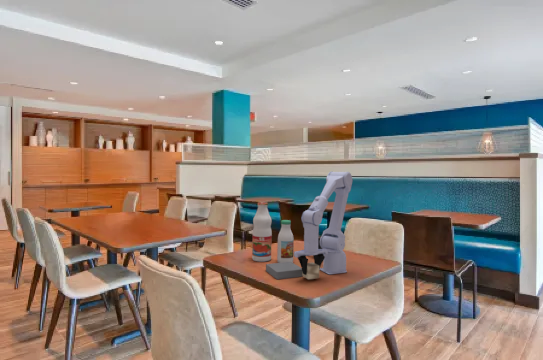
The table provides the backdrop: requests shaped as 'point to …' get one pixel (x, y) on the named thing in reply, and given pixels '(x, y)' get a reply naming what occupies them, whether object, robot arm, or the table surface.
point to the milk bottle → (285, 243)
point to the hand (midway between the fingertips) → (310, 273)
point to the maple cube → (312, 271)
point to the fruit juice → (262, 234)
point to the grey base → (284, 270)
